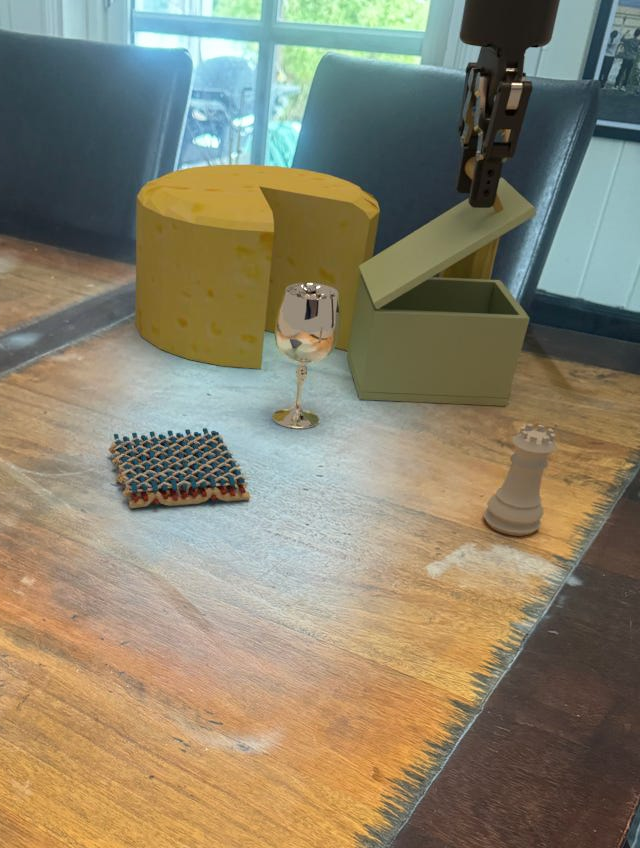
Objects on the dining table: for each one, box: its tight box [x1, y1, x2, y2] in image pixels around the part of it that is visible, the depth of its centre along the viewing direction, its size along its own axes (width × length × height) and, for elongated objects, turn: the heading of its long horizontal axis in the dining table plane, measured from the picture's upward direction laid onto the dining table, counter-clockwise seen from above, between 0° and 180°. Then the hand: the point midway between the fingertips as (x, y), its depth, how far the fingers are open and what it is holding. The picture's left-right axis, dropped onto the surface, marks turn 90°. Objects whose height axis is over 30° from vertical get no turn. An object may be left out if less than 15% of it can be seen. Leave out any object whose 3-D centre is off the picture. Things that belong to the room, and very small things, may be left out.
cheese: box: [134, 164, 381, 370], centre depth 105 cm, size 26×26×15 cm
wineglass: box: [272, 283, 340, 430], centre depth 86 cm, size 6×6×12 cm
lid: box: [359, 156, 538, 309], centre depth 89 cm, size 15×12×5 cm
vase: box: [438, 236, 501, 280], centre depth 103 cm, size 6×6×14 cm
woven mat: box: [107, 427, 251, 509], centre depth 79 cm, size 10×11×2 cm
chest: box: [346, 274, 530, 407], centre depth 96 cm, size 15×12×9 cm
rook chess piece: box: [483, 423, 558, 537], centre depth 73 cm, size 4×4×8 cm
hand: (473, 198), depth 88 cm, fingers closed on lid, 5 cm apart
